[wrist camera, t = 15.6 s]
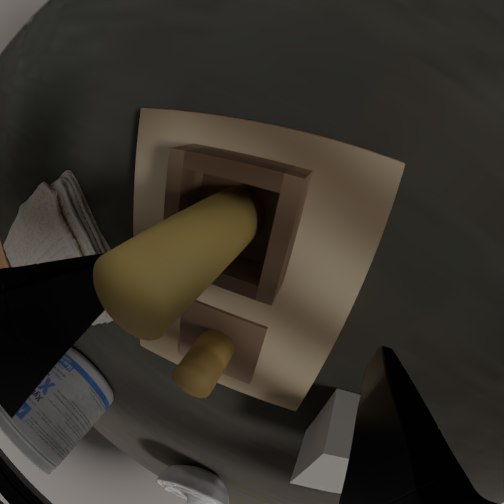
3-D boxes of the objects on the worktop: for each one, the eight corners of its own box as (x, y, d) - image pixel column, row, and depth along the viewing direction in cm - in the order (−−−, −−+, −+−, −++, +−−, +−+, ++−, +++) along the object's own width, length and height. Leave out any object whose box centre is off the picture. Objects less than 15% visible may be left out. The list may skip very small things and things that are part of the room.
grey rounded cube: (374, 446, 18) (367, 497, 14) (305, 430, 19) (289, 482, 15) (417, 407, 15) (418, 468, 11) (336, 388, 16) (323, 453, 12)
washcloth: (150, 300, 19) (123, 324, 17) (64, 328, 28) (47, 342, 25) (75, 155, 17) (41, 164, 14) (17, 241, 25) (-2, 252, 22)
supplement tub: (77, 337, 26) (-10, 418, 13) (129, 401, 28) (59, 486, 15) (55, 347, 31) (-12, 409, 18) (98, 399, 32) (39, 464, 20)
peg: (260, 246, 13) (168, 355, 7) (210, 230, 13) (99, 316, 7) (271, 193, 11) (167, 275, 5) (217, 179, 12) (87, 240, 6)
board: (299, 398, 18) (281, 454, 14) (149, 336, 20) (112, 375, 16) (400, 160, 10) (428, 178, 6) (155, 108, 13) (86, 110, 9)
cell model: (156, 449, 34) (134, 480, 28) (212, 458, 28) (189, 500, 22) (196, 480, 36) (179, 509, 30) (254, 489, 30) (237, 526, 24)
